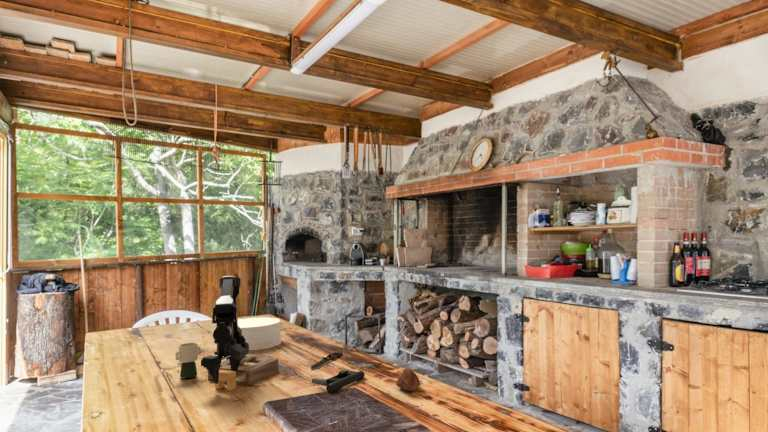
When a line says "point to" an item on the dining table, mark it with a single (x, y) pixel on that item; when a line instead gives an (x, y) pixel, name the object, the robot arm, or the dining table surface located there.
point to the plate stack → (261, 332)
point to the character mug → (188, 359)
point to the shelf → (253, 368)
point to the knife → (326, 360)
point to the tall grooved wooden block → (226, 379)
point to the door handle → (340, 380)
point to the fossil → (408, 380)
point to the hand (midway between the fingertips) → (225, 379)
